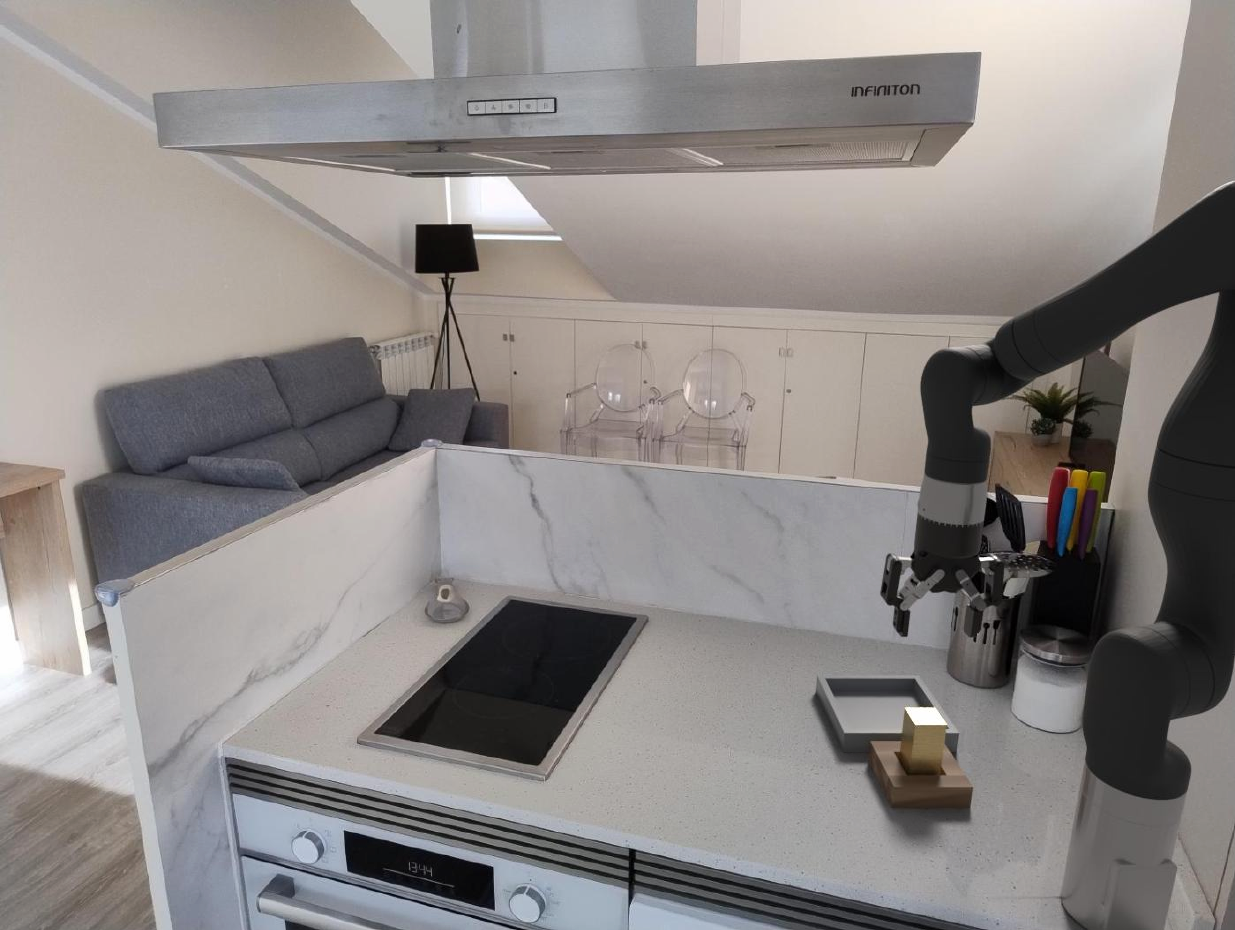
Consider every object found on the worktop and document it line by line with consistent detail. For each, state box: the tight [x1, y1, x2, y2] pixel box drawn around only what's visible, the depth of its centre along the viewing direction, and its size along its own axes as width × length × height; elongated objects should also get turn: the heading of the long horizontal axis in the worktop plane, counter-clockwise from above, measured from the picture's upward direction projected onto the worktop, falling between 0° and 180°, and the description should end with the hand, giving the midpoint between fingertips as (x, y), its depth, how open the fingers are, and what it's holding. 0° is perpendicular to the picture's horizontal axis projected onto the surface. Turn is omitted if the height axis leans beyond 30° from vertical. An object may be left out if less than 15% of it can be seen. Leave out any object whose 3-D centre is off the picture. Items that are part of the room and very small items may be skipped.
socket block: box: [868, 741, 974, 809], centre depth 115 cm, size 10×10×3 cm
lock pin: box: [899, 708, 947, 775], centre depth 114 cm, size 4×4×10 cm
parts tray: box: [815, 674, 960, 753], centre depth 129 cm, size 16×16×3 cm
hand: (935, 634), depth 110 cm, fingers open, 8 cm apart
